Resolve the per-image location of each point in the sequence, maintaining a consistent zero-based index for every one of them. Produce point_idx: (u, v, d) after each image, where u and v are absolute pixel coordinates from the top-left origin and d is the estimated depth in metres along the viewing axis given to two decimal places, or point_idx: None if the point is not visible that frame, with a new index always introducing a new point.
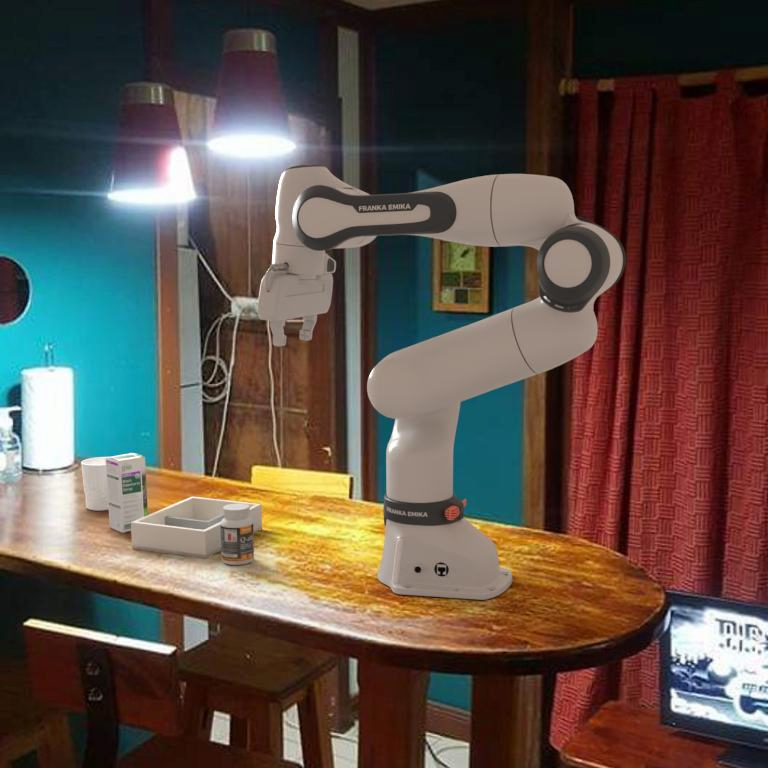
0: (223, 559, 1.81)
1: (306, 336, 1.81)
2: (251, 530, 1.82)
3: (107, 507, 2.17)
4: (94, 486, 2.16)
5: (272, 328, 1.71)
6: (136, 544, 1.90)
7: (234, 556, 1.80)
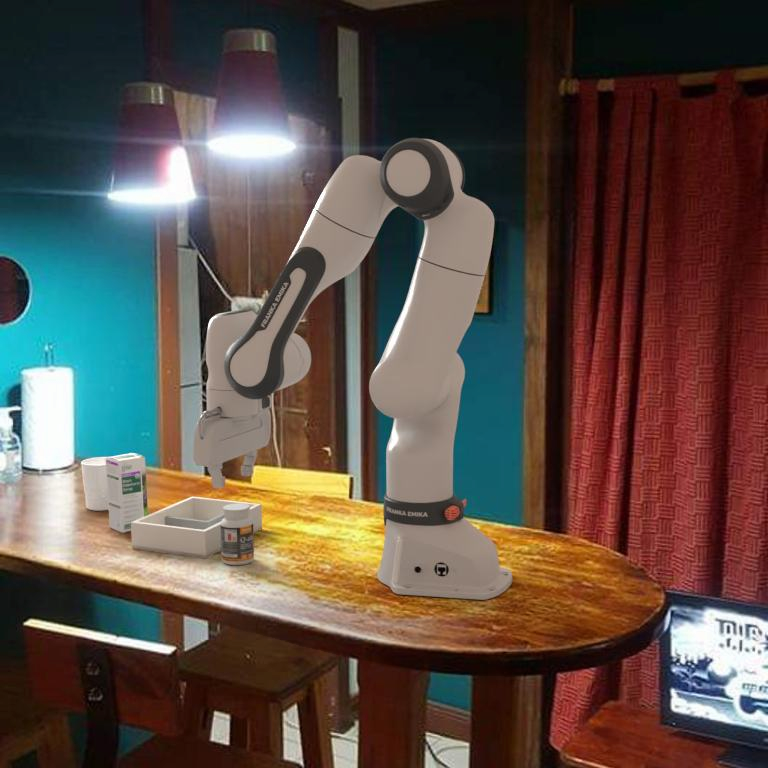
0: (223, 559, 1.81)
1: (247, 472, 1.85)
2: (251, 530, 1.82)
3: (107, 507, 2.17)
4: (94, 486, 2.16)
5: (210, 471, 1.75)
6: (136, 544, 1.90)
7: (234, 556, 1.80)
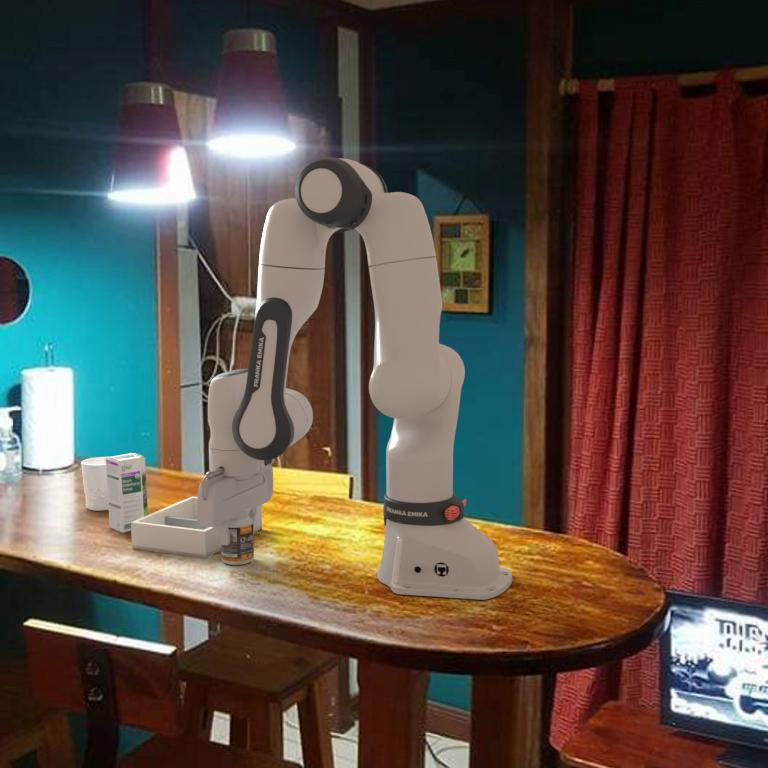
0: (223, 559, 1.81)
1: None
2: (251, 530, 1.82)
3: (107, 507, 2.17)
4: (94, 486, 2.16)
5: (217, 529, 1.78)
6: (136, 544, 1.90)
7: (234, 556, 1.80)
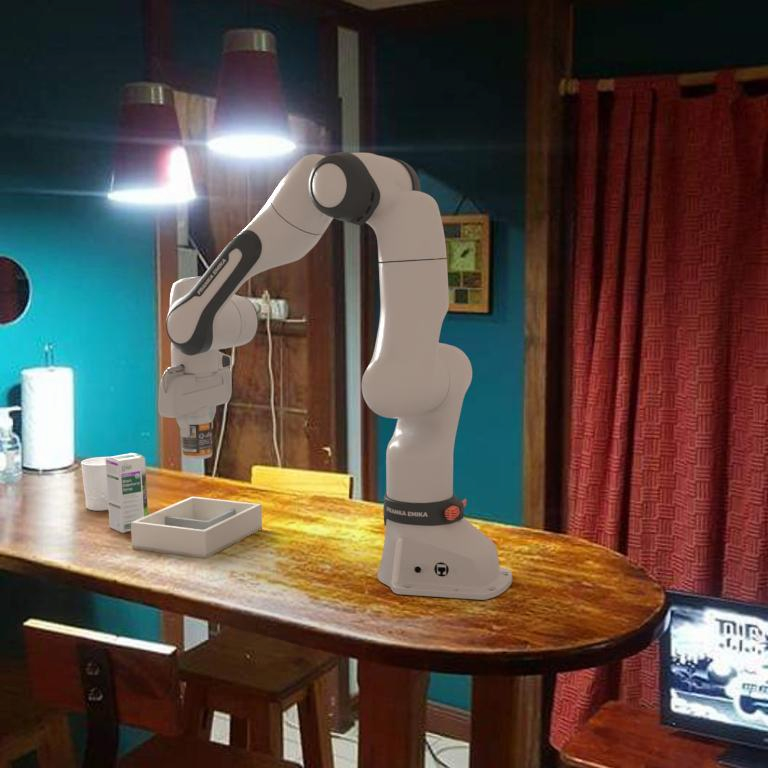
0: (183, 454, 1.98)
1: None
2: (209, 428, 1.98)
3: (107, 507, 2.17)
4: (94, 486, 2.16)
5: (178, 422, 1.95)
6: (136, 544, 1.90)
7: (193, 451, 1.97)
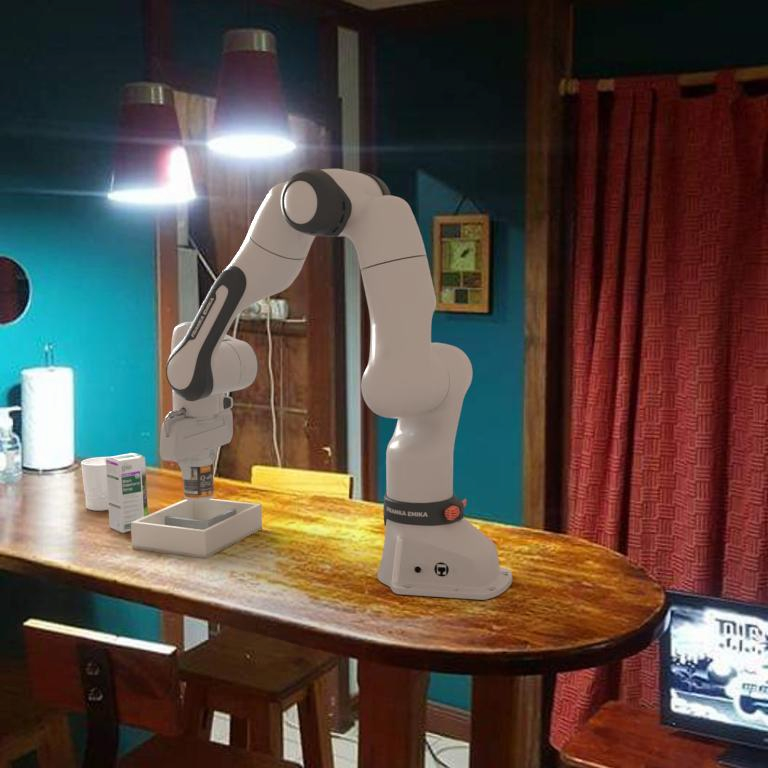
0: (185, 496, 2.00)
1: None
2: (210, 469, 2.00)
3: (107, 507, 2.17)
4: (94, 486, 2.16)
5: (180, 464, 1.96)
6: (136, 544, 1.90)
7: (195, 493, 1.98)
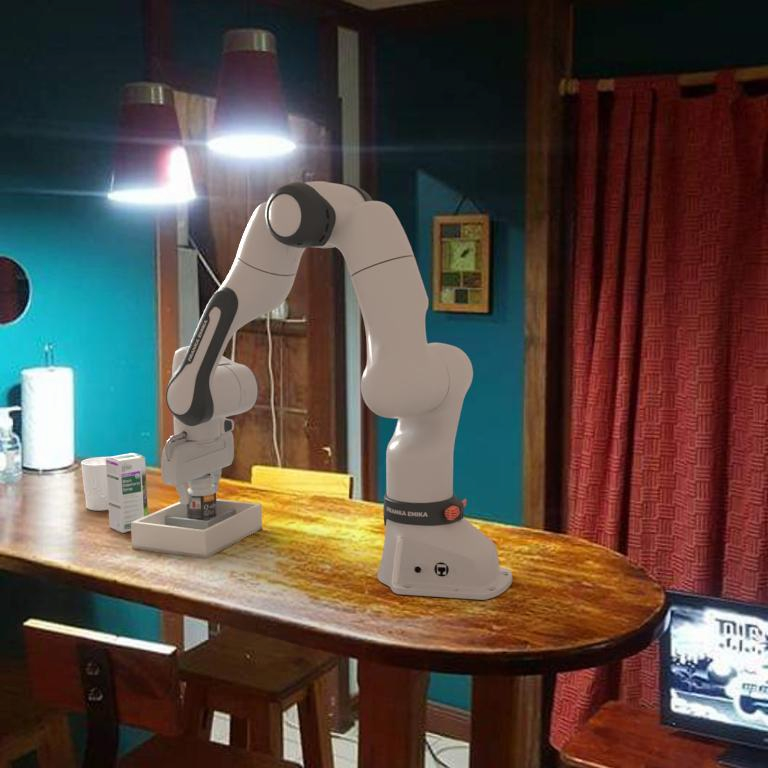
0: None
1: None
2: (214, 498, 2.01)
3: (107, 507, 2.17)
4: (94, 486, 2.16)
5: (177, 489, 1.95)
6: (136, 544, 1.90)
7: None
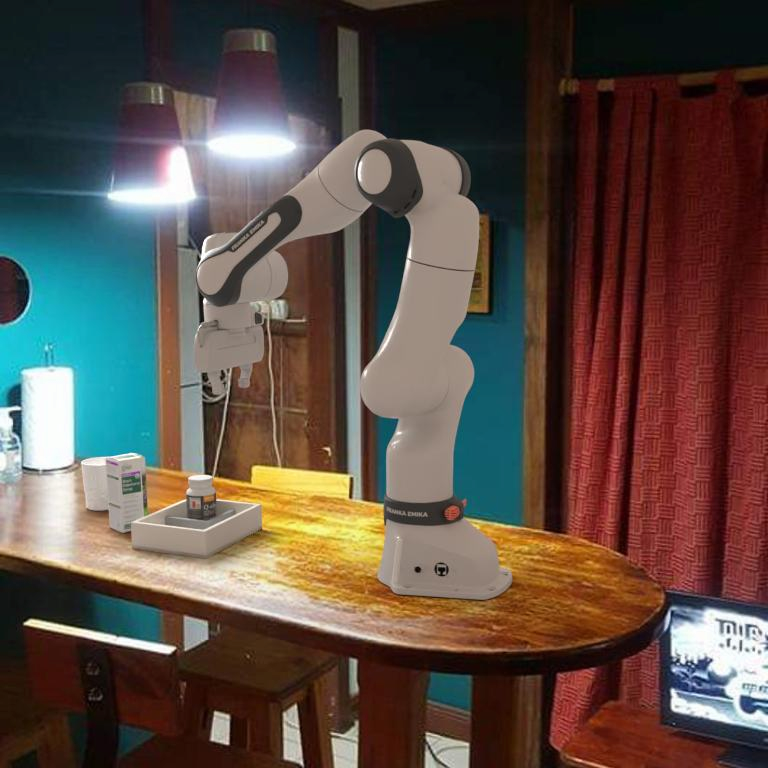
0: None
1: (244, 383, 2.02)
2: (214, 498, 2.01)
3: (107, 507, 2.17)
4: (94, 486, 2.16)
5: (210, 379, 1.93)
6: (136, 544, 1.90)
7: None
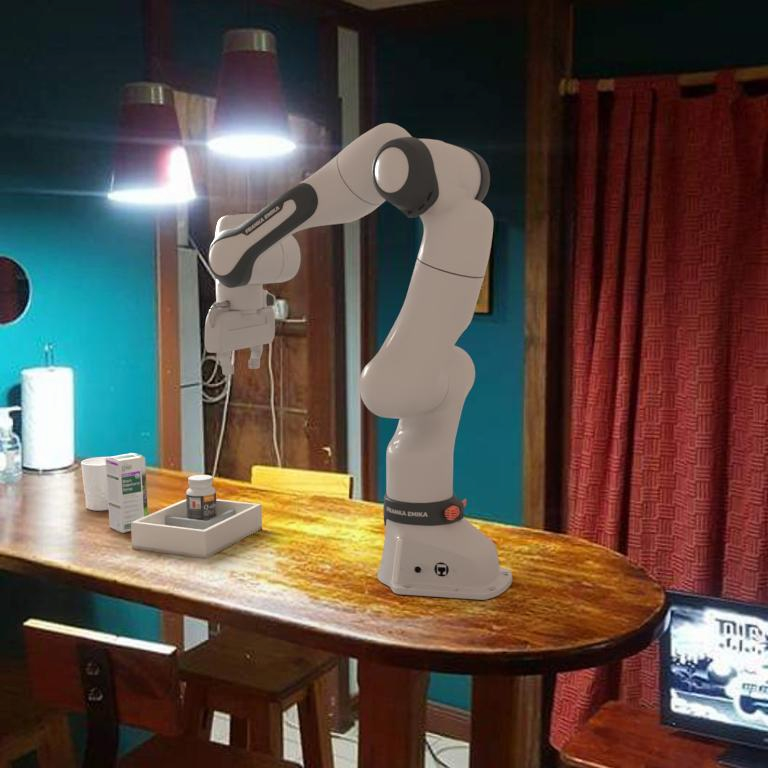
0: None
1: (254, 365, 2.02)
2: (214, 498, 2.01)
3: (107, 507, 2.17)
4: (94, 486, 2.16)
5: (220, 359, 1.93)
6: (136, 544, 1.90)
7: None
